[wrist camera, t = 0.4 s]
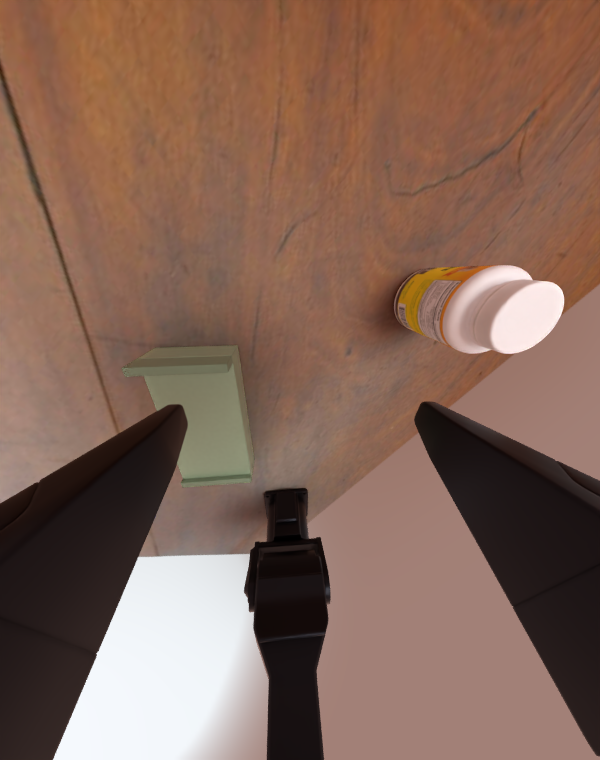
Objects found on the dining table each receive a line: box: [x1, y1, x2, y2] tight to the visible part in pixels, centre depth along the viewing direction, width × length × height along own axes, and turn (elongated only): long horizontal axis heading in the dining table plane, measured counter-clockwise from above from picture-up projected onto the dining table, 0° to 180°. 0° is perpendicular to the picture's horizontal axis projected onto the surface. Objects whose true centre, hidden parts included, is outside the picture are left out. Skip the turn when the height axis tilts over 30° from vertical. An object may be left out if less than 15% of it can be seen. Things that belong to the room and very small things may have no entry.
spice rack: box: [122, 345, 254, 488], centre depth 22 cm, size 16×8×5 cm, turn 0°
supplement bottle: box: [394, 265, 564, 354], centre depth 16 cm, size 6×6×10 cm
